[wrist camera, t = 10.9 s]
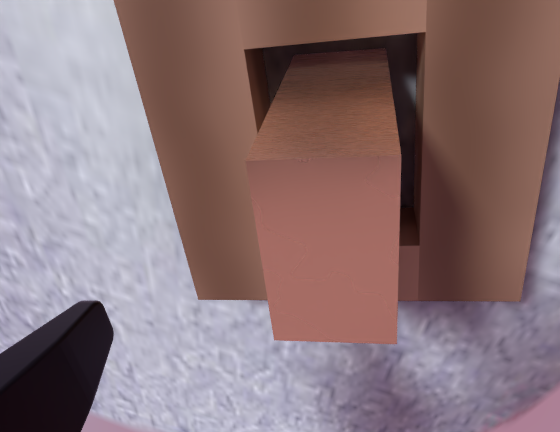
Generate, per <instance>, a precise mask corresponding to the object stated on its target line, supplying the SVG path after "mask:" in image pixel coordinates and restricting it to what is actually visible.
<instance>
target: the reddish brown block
mask: <svg viewBox="0 0 560 432" xmlns="http://www.w3.org/2000/svg"><path fill="white" fill-rule="evenodd" d="M245 162H246V168H247V175H248V181H249V187H250V193H251V199H252V205H253V212H254V218H255V224H256V230H257V236H258V243H259V249H260V255H261V261H262V267H263V273H264V280H265V286H266V292H267V298H268V304H269V311H270V317H271V323H272V329H273V335H274V340H284V341H315V342H346V343H376V344H397V311H398V271H399V230H400V190H401V149H400V142H399V135H398V128H397V121H396V114H395V107H394V100H393V94H392V87H391V80H390V73H389V66H388V59H387V52H386V48H379V49H366V50H352V51H339V52H326V53H312V54H299V55H294V56H293V58H292V61H291V63H290V65H289V67H288V69H287V71H286V74H285V76H284V78H283V80H282V82H281V84H280V87H279V89H278V91H277V93H276V95H275V97H274V100H273V102H272V104H271V106H270V108H269V110H268V113H267V115H266V117H265V119H264V121H263V123H262V126H261V128H260V130H259V132H258V134H257V136H256V139H255V141H254V143H253V145H252V147H251V149H250V152H249V154H248V156H247V158H246V160H245Z"/></svg>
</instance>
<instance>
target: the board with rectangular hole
mask: <svg viewBox="0 0 560 432" xmlns="http://www.w3.org/2000/svg"><path fill="white" fill-rule="evenodd" d="M114 3H115V7H116V10H117V14H118V17H119V21H120V24H121V28H122V31H123V35H124V38H125V42H126V45H127V49H128V53H129V56H130V60H131V63H132V67H133V70H134V74H135V77H136V81H137V84H138V88H139V91H140V95H141V98H142V102H143V106H144V109H145V113H146V116H147V120H148V123H149V127H150V130H151V134H152V137H153V141H154V144H155V148H156V151H157V155H158V159H159V162H160V166H161V169H162V173H163V176H164V180H165V183H166V187H167V190H168V194H169V197H170V201H171V204H172V208H173V212H174V215H175V219H176V222H177V226H178V229H179V233H180V236H181V240H182V243H183V247H184V250H185V254H186V257H187V261H188V265H189V268H190V272H191V275H192V279H193V282H194V286H195V289H196V293H197V296H198V300H268V298H267V292H266V286H265V280H264V273H263V267H262V261H261V255H260V249H259V243H258V236H257V230H256V224H255V218H254V212H253V205H252V199H251V193H250V187H249V181H248V175H247V168H246V162H245V160H246V158H247V156H248V154H249V152H250V149H251V147H252V145H253V143H254V141H255V139H256V136H257V134H258V132H259V130H260V128H261V126H262V123H263V121H264V119H265V117H266V115H267V113H268V110H269V108H270V99H269V92H268V85H267V78H266V71H265V64H264V57H263V49H262V48H264V47H274V46H285V45H295V44H305V43H316V42H326V41H337V40H347V39H357V38H368V37H378V36H388V35H399V34H409V33H417V67H416V115H415V163H414V207H410V208H400V230H399V271H398V301H520V300H521V294H522V289H523V283H524V277H525V272H526V266H527V260H528V255H529V249H530V243H531V238H532V232H533V226H534V221H535V215H536V209H537V204H538V198H539V192H540V187H541V181H542V175H543V170H544V164H545V158H546V153H547V147H548V141H549V136H550V130H551V124H552V118H553V113H554V107H555V101H556V96H557V90H558V84H559V79H560V0H114Z"/></svg>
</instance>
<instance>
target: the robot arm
mask: <svg viewBox="0 0 560 432" xmlns="http://www.w3.org/2000/svg"><path fill="white" fill-rule="evenodd" d="M113 336H114V332H113V327H112V325H111V323H110V320H109V318H108V315H107V313H106V311H105V308H104V306H103V304H102V303H101V302H100V301H80V302H78V303H76V304H75V305H73V306H72V307H70V308H69V309H67V310H66V311H64V312H63V313H61V314H60V315H58V316H57V317H55V318H54V319H52V320H51V321H49V322H48V323H46V324H45V325H43V326H42V327H40V328H38V329H37V330H35V331H34V332H32V333H31V334H29V335H28V336H26V337H25V338H23V339H22V340H20V341H19V342H17V343H16V344H14V345H13V346H11V347H10V348H8V349H7V350H5V351H4V352H2V353H1V354H0V432H81V430H82V428H83V425H84V423H85V421H86V419H87V416H88V414H89V411H90V409H91V406H92V403H93V401H94V398H95V395H96V392H97V389H98V385H99V382H100V379H101V376H102V373H103V370H104V367H105V363H106V360H107V357H108V354H109V351H110V348H111V344H112V341H113Z"/></svg>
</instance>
